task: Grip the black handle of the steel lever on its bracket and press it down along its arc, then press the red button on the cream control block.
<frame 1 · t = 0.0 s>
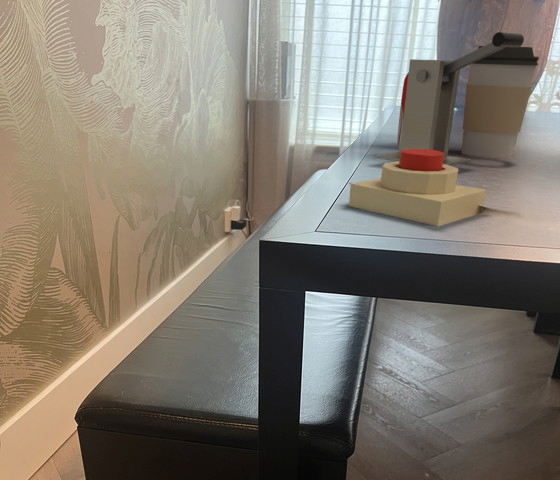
button block: (414, 210, 59), on the table
coffee cup: (485, 162, 88), on the table
button: (421, 161, 57), point 4 cm above the table, slide at 0.1 cm
bracket: (422, 166, 82), on the table
lever: (466, 60, 73), point 13 cm above the table, hinge at 24.0°
soda can: (418, 156, 91), on the table
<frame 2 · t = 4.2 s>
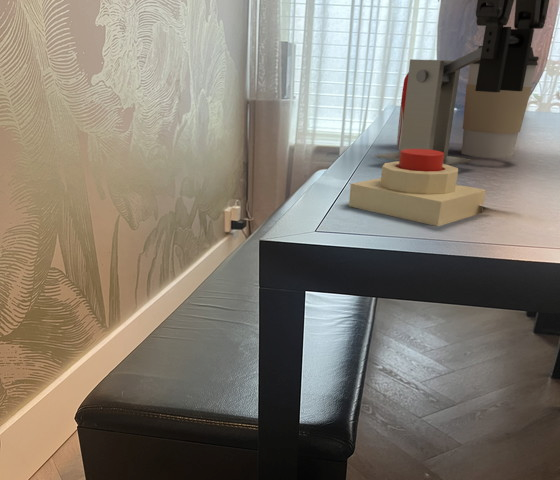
hand: (499, 90, 72), 10 cm above the table, tool pointing down, fingers closed on lever, 5 cm apart
lever: (466, 60, 73), point 13 cm above the table, hinge at 24.0°, touching gripper
everything else where it was.
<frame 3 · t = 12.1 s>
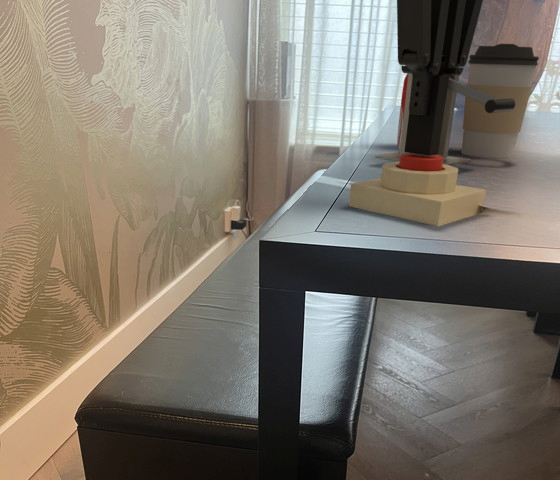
hand: (421, 152, 56), 5 cm above the table, tool pointing down, fingers closed
button: (420, 165, 57), point 4 cm above the table, slide at -0.3 cm, touching gripper
lever: (463, 89, 75), point 10 cm above the table, hinge at -16.2°
everything else where it was.
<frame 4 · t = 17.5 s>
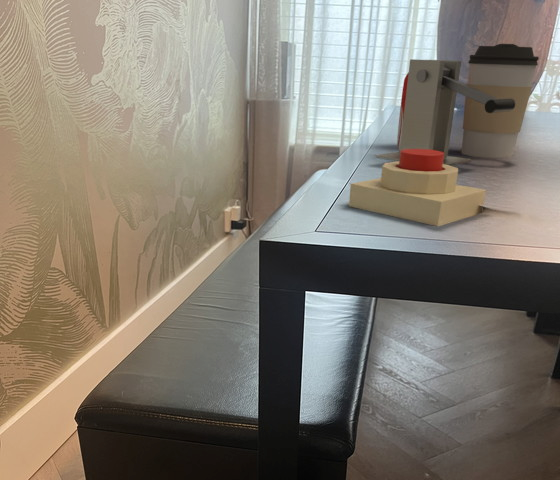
button: (421, 161, 57), point 4 cm above the table, slide at 0.1 cm
everything else where it was.
at the end: lever at -16° (first picture: +24°); button pushed in 1.0 cm at the most during the clip, back to where it started at the end; button slide at 0.1 cm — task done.
